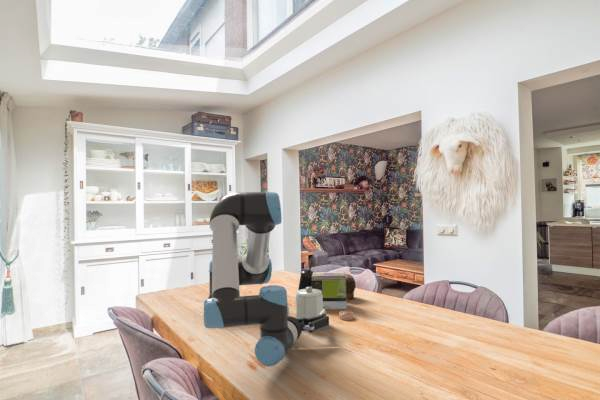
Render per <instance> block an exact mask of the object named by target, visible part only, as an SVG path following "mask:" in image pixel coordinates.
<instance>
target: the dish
mask: <svg viewBox="0 0 600 400" xmlns="http://www.w3.org/2000/svg"><path fill="white" fill-rule="evenodd" d="M338 312H339V313H338V316H339V317H338V319H339V320H341V321H352V320H354V316H355V315H354V312H353V311H351V310H341V311H338Z"/></svg>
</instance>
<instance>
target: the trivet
mask: <svg viewBox="0 0 600 400" xmlns="http://www.w3.org/2000/svg"><path fill="white" fill-rule="evenodd" d="M331 330H332V329H331V327H330V324H329V325H326V326H324V327H322V328H319V329H317V330H316V331H331ZM303 332H309V330H307V329H306V330H304V331H303Z"/></svg>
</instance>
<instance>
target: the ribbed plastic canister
mask: <svg viewBox="0 0 600 400" xmlns="http://www.w3.org/2000/svg"><path fill="white" fill-rule="evenodd" d="M295 307H296V308H295V311H296V313H295V318H296V319H301V318H306V319H308V318H312V317H316V316H319V314H320V312H321V311H322V310H323V295H322V291H321V290H318V289H312V287H306V289H301V290H298V289H297V290H296V291H295ZM303 322H304V321H303Z"/></svg>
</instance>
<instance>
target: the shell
mask: <svg viewBox="0 0 600 400" xmlns="http://www.w3.org/2000/svg"><path fill="white" fill-rule="evenodd" d="M345 276H346V298H347V301H351V300H354V299H355V298H354V296H355V294H354V292H355V290H356V287H357V286H356V281H355V278H354V276H352V275H351V274H349V273H348V274H347V273H345Z"/></svg>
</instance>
